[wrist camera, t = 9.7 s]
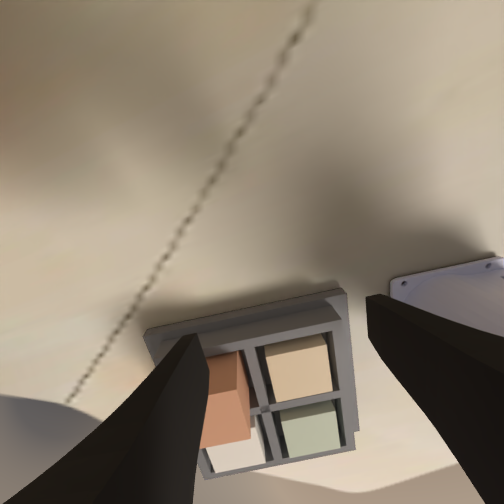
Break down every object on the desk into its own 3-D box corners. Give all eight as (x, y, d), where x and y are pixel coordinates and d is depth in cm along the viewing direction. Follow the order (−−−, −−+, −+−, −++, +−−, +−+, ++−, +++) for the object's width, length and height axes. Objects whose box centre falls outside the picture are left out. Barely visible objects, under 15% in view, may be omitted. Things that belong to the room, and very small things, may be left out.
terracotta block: (237, 338, 20) (236, 389, 15) (248, 380, 21) (251, 438, 16) (184, 349, 20) (166, 403, 15) (198, 390, 21) (187, 451, 17)
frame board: (341, 288, 20) (361, 310, 17) (355, 421, 25) (372, 458, 22) (147, 329, 20) (129, 359, 17) (198, 452, 25) (192, 494, 22)
